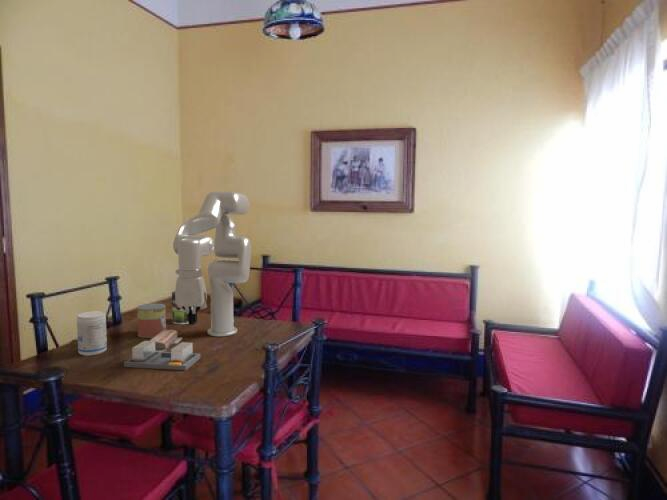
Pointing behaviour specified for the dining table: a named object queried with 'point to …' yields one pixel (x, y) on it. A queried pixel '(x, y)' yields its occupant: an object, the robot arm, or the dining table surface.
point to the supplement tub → (91, 333)
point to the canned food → (151, 319)
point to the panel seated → (143, 351)
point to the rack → (162, 362)
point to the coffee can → (178, 313)
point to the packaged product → (165, 339)
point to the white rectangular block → (182, 353)
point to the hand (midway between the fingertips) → (192, 323)
